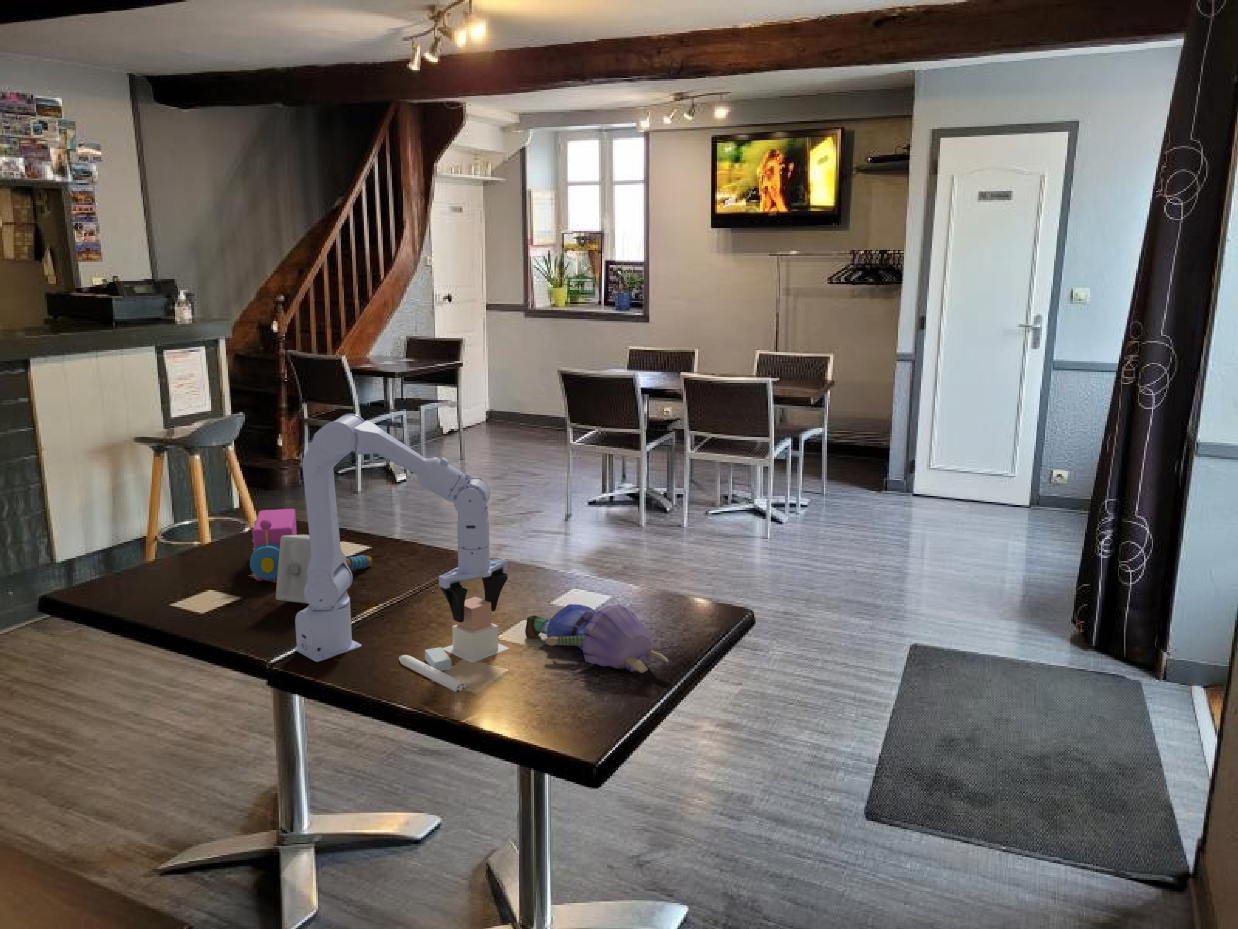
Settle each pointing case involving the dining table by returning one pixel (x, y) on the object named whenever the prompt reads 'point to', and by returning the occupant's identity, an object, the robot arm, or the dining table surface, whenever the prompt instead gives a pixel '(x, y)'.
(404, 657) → the marker
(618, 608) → the toy
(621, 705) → the dining table surface
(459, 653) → the plate
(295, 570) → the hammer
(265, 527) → the toy
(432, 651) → the brick
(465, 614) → the top block
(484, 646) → the base block
